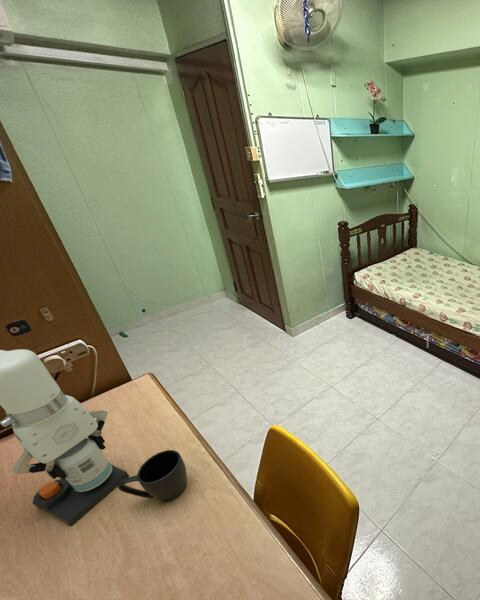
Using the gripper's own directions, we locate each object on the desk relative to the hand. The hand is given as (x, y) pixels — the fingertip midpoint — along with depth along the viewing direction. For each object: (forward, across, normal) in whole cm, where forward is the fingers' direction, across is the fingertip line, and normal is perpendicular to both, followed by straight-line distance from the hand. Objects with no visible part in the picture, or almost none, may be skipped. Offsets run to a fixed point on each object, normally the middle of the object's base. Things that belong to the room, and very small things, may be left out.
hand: (81, 460), depth 71 cm
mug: (+10, +4, -16) cm, 19 cm away
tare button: (+7, -6, +5) cm, 10 cm away
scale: (+10, -2, +2) cm, 10 cm away
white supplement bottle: (+7, 0, 0) cm, 7 cm away
